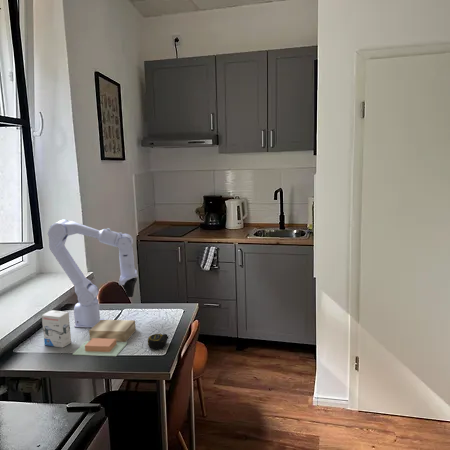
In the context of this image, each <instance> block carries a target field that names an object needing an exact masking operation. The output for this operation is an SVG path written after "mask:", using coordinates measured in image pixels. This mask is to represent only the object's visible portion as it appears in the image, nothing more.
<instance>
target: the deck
mask: <svg viewBox="0 0 450 450" xmlns="http://www.w3.org/2000/svg"><path fill="white" fill-rule="evenodd" d="M136 326H137V325H136V320H135V319H134V320H132V319H131V320H129V319H125V320H124V319H104V320H100V321H99V322H98V323H97V324H96V325H95V326H94V327H90V329H89V330H88V334H89V341H90V340H91V339H92V338H105V339H116V342H127V341H128V340H129V339H130V338H131V337H132V335H133V334H134V333H135V332H136V331H137V327H136Z"/></svg>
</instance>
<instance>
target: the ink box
mask: <svg viewBox="0 0 450 450" xmlns="http://www.w3.org/2000/svg"><path fill="white" fill-rule="evenodd" d="M41 322H42V323H41V325H42V331H43V343H44V345H45V346H50V347H56V348H64V347H67V346H68V345H70V344H71V343H72V337H71V336H72V333H71V323H70V315H69V312H68V311H61V310H53V309H52V310H48V311H47V312H45V313H43V314H41Z"/></svg>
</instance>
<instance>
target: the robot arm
mask: <svg viewBox="0 0 450 450" xmlns="http://www.w3.org/2000/svg"><path fill="white" fill-rule="evenodd" d="M76 234H79V235H82V236H86V237H91V238H94V239H97V240H98V242H99V243H100V244H105V245H107V246H111V247H115V248H118V252H119V253H118V257H119V259H118V260H119V271H120V276H119V280H118V285H119V286H122V288H123V290H124V292H125V294H126V297H127V298H132V297H134V293H135V287H136V283H137V281H138V277H139V274H138V270H137V269H136V267H135V256H134V255H135V253H134V248H133V247H134V246H133V244H134V237H133V236H132V235H131V234H129V233H127V232H126V233H123V232H121V231H120V232H117V231H114V230H111V228H109V227H107V228H103V229H100V230H99V229H97V228H94V227H91V226H88V225H85V224H82V223H79V222H76V221H74V220H67V219H60V220H58V221H56V222H54V223H52V224H51V225H50V226H49V228H48V230H47V234H46V235H47V237H48V249H49V250H50V252H51V253H52V255H53V257H55V259H56V260H57V262H58V264H59V265H60V266H61V268H62V270H63V271H64V273H65V274H66V275H67V277H68V278H69V280H70V281H71V283H72V284H73V286H74V292H75V294H76V296H77V301H78V302H77V303H75V305H74V308H73V318H74V324H75V325H74V328H93V327H94V326H95V325H96V324H97V323H98V322H99V321H100V320H105V318H101V314H100V304H99V299H98V295H99V288H98V287H97V285H95V284H93V282H92V281H91V280H90V279H88V278H87V277H86V276H85V275H84V273H83V272H82V270H81V268H80V267H79V265H78V263H76V260H74V258H73V256H72V255H71V253H70V252H69V250H68V249H67V248H66V246H65V245H66V241H67V238H68V237H70V236H72V235H76Z"/></svg>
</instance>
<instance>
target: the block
mask: <svg viewBox="0 0 450 450" xmlns="http://www.w3.org/2000/svg"><path fill="white" fill-rule="evenodd" d="M88 341H89V342H88V343H87V344H86V345H85V351H98V352H110V351H111V350H112V349H113V347H114V346H115V345H116V344H117V343H116V342H117V341H116V339H105V338H92V339H91V340H90V339H89V340H88Z"/></svg>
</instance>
